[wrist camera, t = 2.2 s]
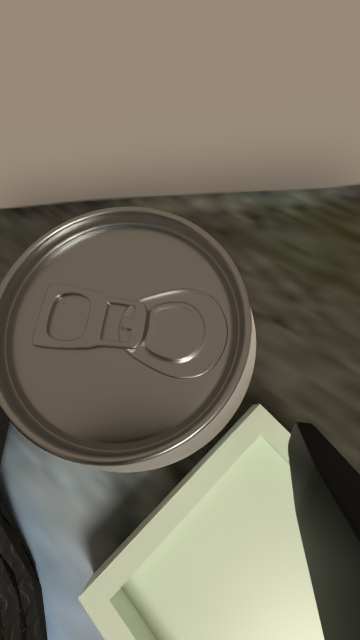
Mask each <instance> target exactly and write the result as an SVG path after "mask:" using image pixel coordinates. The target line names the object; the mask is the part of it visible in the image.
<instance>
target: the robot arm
mask: <svg viewBox="0 0 360 640" xmlns="http://www.w3.org/2000/svg"><path fill="white" fill-rule="evenodd" d="M288 456H289V464H290V473H291V481H292V489H293V497H294V505H295V512H296V517H297V522H298V526H299V531H300V535H301V539H302V544H303V548H304V553H305V557H306V561H307V566H308V570H309V574H310V579H311V583H312V588H313V592H314V596H315V601H316V605H317V609H318V614H319V618H320V622H321V627H322V631H323V636H324V640H360V475H359V473H358V472H357V471H356V470H355V469H354V468H353V467H352V466H351V465H350V464H349V463H348V462H347V461H346V459H345V458H344V457H343V456H342V455H341V454H340V453H339V452H338V451H337V450H336V449H335V448H334V447H333V445H332V444H331V443H330V442H329V441H328V440H327V439H326V438H325V437H324V436H323V435H322V434H321V433H320V431H319V430H318V429H317V428H316V427H315V426H314V425H312V424H310V423H302V422H296V423H295V424H294V427H293V430H292V433H291V436H290V439H289V442H288Z"/></svg>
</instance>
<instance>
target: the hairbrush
mask: <svg viewBox="0 0 360 640" xmlns="http://www.w3.org/2000/svg"><path fill="white" fill-rule="evenodd" d="M9 421H10V420H9V419H8V418H7V416H6V415H5V413H4V412H3V410H2V409H1V407H0V463H1V458H2V454H3V449H4V444H5V439H6V434H7V430H8V425H9ZM24 549H26V551H27V552H28V554H29V555H30V557H31V560H32V563H33V566H34V569H35V572H36V574H35V572H34V570H33V567H32V565H31V563H30V561H29V559H28V557H27V554H26V552H25V550H24ZM36 575H37V570H36V566H35V562H34V560H33V558H32V556H31V553H30V551H29V549H28V547H27V546H26V544H25V542H24V541H23V539H22V537H21V535H20V534H19V532H18V530H17V528H16V527H15V525H14V523H13V521H12V520H11V518H10V516H9V514H8V512H7V510H6V509H5V507H4V505H3V503H2V501H1V500H0V640H47V632H46V623H45V614H44V606H43V597H42V588H41V585H40V583H39V579H38V575H37V576H36Z"/></svg>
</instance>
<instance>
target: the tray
mask: <svg viewBox="0 0 360 640" xmlns="http://www.w3.org/2000/svg"><path fill="white" fill-rule="evenodd" d="M290 436H291V434H290V433H289V432H288V431H287V430H286V429H285V428H284V427H283V426H282V425H281V424H280V423H279V422H278V421H277V420H276V419H275V418H274V417H273V416H272V415H271V414H270V413H269V412H268V411H267V410H266V409H265V408H264V407H263V406H262V405H261V404H253V405H252V406H251V407H250V408H249V409H248V410H247V411H246V412H245V413H244V414H243V415H242V417H241V418H240V419H239V420H238V421H237V422H236V423H235V424H234V425H233V426H232V427H231V428H230V429H229V430H228V431H227V432H226V434H225V435H224V436H223V437H222V438H221V439H220V440H219V441H218V442H217V443H216V444H215V445H214V446H213V447H212V448H211V449H210V450H209V452H208V453H207V454H206V455H205V456H204V457H203V458H202V459H201V460H200V461H199V462H198V463H197V464H196V465H195V466H194V467H193V469H192V470H191V471H190V472H189V473H188V474H187V475H186V476H185V477H184V478H183V479H182V480H181V481H180V482H179V483H178V484H177V485H176V487H175V488H174V489H173V490H172V491H171V492H170V493H169V494H168V495H167V496H166V497H165V498H164V499H163V500H162V501H161V502H160V504H159V505H158V506H157V507H156V508H155V509H154V510H153V511H152V512H151V513H150V514H149V515H148V516H147V517H146V518H145V519H144V521H143V522H142V523H141V524H140V525H139V526H138V527H137V528H136V529H135V530H134V531H133V532H132V533H131V534H130V535H129V536H128V537H127V539H126V540H125V541H124V542H123V543H122V544H121V545H120V546H119V547H118V548H117V549H116V550H115V551H114V552H113V553H112V554H111V556H110V557H109V558H108V559H107V560H106V561H105V562H104V563H103V564H102V565H101V566H100V567H99V568H98V569H97V570H96V571H95V572H94V574H93V575H92V577H91V578H90V580H89V581H88V583H87V585H86V586H85V588H84V589H83V591H82V593H81V594H80V596H79V597H78V599H79V601H80V602H81V604H82V605H83V607H84V608H85V610H86V612H87V613H88V615H89V616H90V618H91V619H92V621H93V622H94V624H95V625H96V627H97V629H98V630H99V632H100V633H101V635H102V636H103V638H104V639H105V640H324V636H323V631H322V627H321V622H320V618H319V614H318V609H317V605H316V601H315V596H314V592H313V588H312V583H311V579H310V574H309V570H308V566H307V561H306V557H305V553H304V548H303V544H302V539H301V535H300V531H299V526H298V522H297V517H296V512H295V505H294V497H293V489H292V481H291V473H290V464H289V456H288V442H289V439H290Z"/></svg>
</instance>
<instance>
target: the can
mask: <svg viewBox="0 0 360 640" xmlns="http://www.w3.org/2000/svg"><path fill="white" fill-rule="evenodd" d="M255 355H256V332H255V325H254V320H253V315H252V312H251V308H250V303H249V298H248V294H247V291H246V288H245V285H244V282H243V279H242V277H241V275H240V273H239V271H238V269H237V267H236V265H235V264H234V262H233V261H232V259H231V258H230V256H229V255H228V253H227V252H226V251H225V250H224V249H223V247H222V246H221V245H220V244H219V243H218V242H217V241H216V240H215V239H214V238H213V237H212V236H210V235H209V234H208V233H207V232H205V231H204V230H203V229H201V228H200V227H198V226H197V225H195V224H193V223H192V222H190V221H188V220H186V219H184V218H182V217H179V216H177V215H174V214H171V213H168V212H165V211H161V210H157V209H152V208H145V207H114V208H106V209H101V210H97V211H93V212H89V213H86V214H83V215H80V216H77V217H75V218H72V219H70V220H68V221H66V222H64V223H62V224H60V225H58V226H57V227H55V228H53V229H52V230H50V231H49V232H47V233H46V234H44V235H43V236H42V237H40V238H39V239H38V240H37V241H35V242H34V243H33V244H32V245H31V246H30V247H29V248H28V249H27V250H26V251H25V252H24V253H23V254H22V255H21V256H20V257H19V258H18V259H17V261H16V262H15V263H14V264H13V266H12V267H11V269H10V270H9V271H8V273H7V274H6V276H5V278H4V279H3V281H2V283H1V285H0V407H1V409H2V410H3V412H4V413H5V415H6V416H7V418H8V419H9V420H10V422H11V423H12V424H13V425H14V426H15V427H16V428H17V430H18V431H20V432H21V433H22V434H23V435H24V436H25V437H26V438H27V439H29V440H30V441H31V442H32V443H34V444H35V445H37V446H38V447H40V448H42V449H43V450H45V451H47V452H49V453H51V454H53V455H55V456H57V457H60V458H62V459H65V460H68V461H72V462H76V463H80V464H83V465H86V466H89V467H92V468H95V469H99V470H104V471H111V472H141V471H148V470H153V469H157V468H161V467H164V466H167V465H170V464H173V463H175V462H177V461H180V460H182V459H184V458H186V457H188V456H189V455H191V454H193V453H194V452H196V451H198V450H199V449H200V448H202V447H203V446H205V445H206V444H207V443H208V442H210V441H211V440H212V439H213V438H214V437H215V436H216V435H217V434H218V433H219V432H220V431H221V430H222V429H223V428H224V427H225V426H226V424H227V423H228V422H229V421H230V419H231V418H232V417H233V415H234V414H235V412H236V411H237V409H238V407H239V406H240V404H241V402H242V400H243V398H244V396H245V394H246V391H247V389H248V386H249V383H250V380H251V377H252V373H253V369H254V363H255Z"/></svg>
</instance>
